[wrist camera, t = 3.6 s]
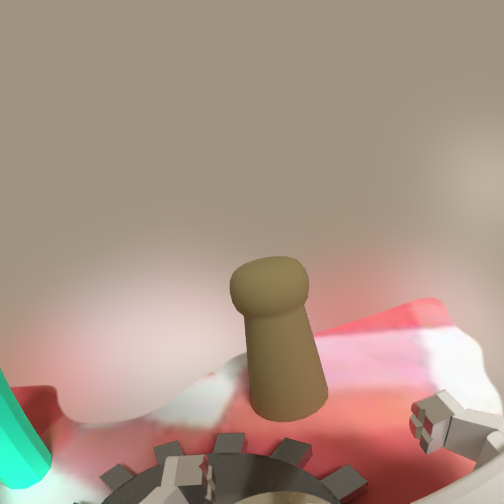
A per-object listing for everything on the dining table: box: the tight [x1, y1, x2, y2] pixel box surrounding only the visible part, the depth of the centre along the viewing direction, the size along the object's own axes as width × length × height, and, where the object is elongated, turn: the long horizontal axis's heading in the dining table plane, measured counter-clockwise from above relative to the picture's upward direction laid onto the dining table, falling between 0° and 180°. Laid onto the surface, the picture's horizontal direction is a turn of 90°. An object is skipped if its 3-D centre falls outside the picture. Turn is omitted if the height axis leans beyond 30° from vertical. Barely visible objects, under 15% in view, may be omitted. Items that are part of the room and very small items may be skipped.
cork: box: [230, 256, 328, 422], centre depth 22 cm, size 6×6×11 cm
